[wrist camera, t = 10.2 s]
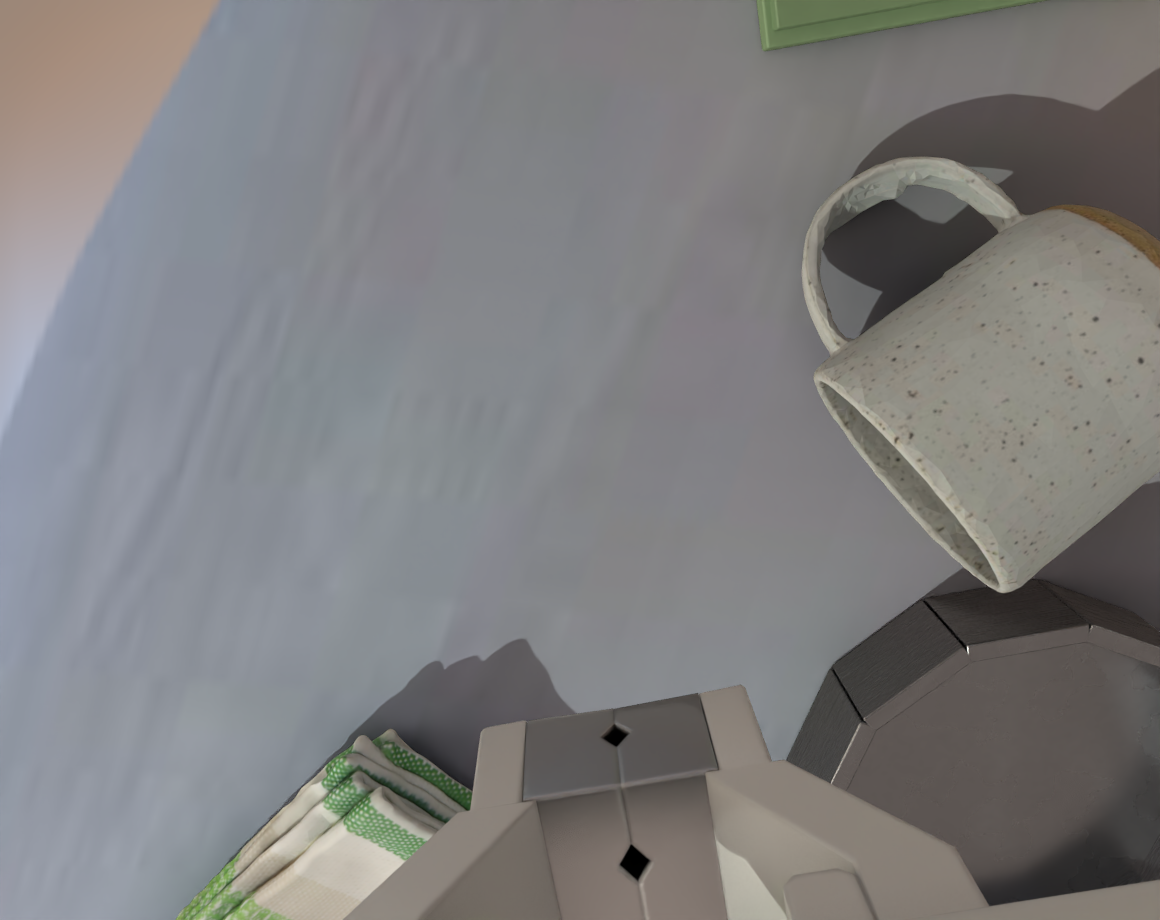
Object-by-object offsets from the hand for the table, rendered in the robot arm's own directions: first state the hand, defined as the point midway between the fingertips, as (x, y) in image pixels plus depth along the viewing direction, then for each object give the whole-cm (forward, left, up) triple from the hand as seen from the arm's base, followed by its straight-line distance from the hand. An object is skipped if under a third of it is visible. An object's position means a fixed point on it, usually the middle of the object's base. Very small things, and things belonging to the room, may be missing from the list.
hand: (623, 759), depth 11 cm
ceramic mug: (-11, 0, -20) cm, 23 cm away
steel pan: (-12, +21, -19) cm, 31 cm away
